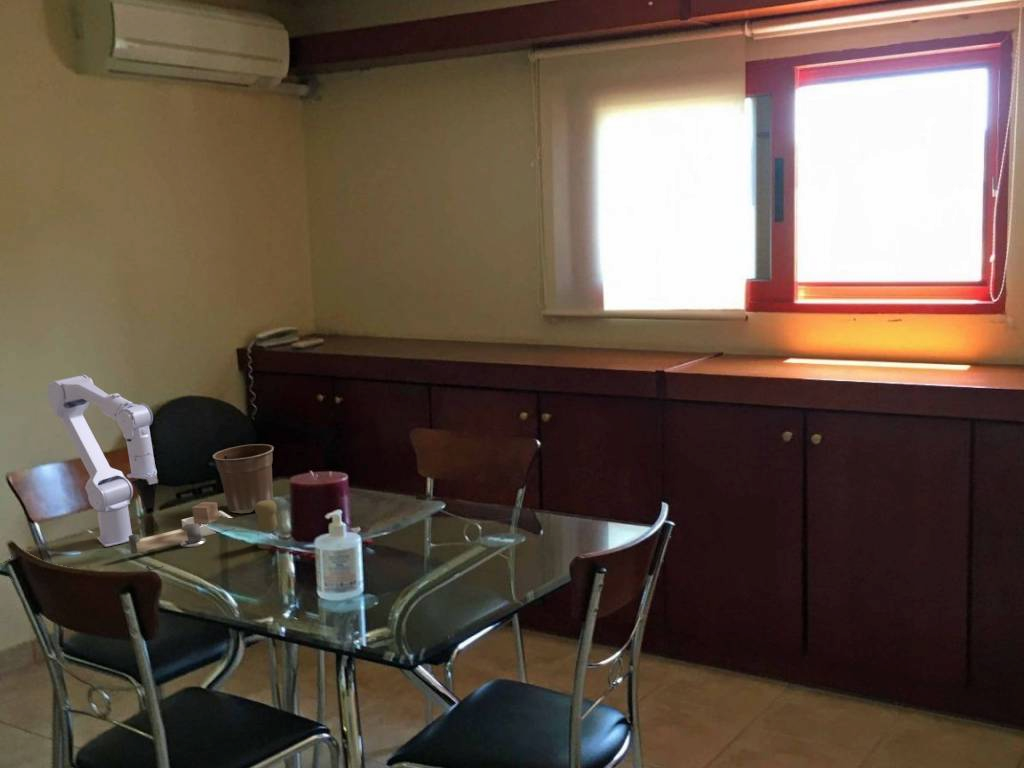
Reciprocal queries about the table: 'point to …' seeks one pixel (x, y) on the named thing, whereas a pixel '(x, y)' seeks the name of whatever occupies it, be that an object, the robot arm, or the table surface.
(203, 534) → the tray
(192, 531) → the crank
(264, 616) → the table surface
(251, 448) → the plant pot
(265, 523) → the cork
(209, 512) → the block
